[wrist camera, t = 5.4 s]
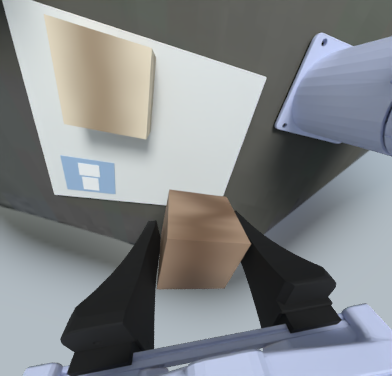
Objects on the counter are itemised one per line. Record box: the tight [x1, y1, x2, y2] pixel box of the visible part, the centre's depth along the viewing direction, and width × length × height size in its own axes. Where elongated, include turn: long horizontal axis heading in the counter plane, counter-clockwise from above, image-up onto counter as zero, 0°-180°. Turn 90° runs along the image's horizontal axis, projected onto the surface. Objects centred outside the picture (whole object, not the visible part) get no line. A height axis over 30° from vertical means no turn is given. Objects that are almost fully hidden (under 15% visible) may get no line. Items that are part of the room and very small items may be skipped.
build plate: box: [2, 0, 267, 205], centre depth 16 cm, size 20×16×1 cm
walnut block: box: [157, 189, 251, 289], centre depth 12 cm, size 5×5×5 cm
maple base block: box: [44, 14, 156, 139], centre depth 12 cm, size 6×6×3 cm
